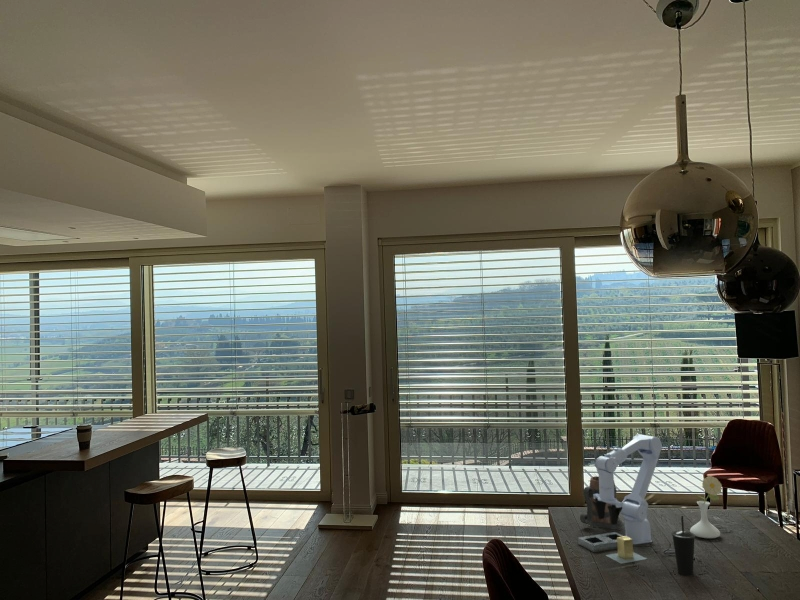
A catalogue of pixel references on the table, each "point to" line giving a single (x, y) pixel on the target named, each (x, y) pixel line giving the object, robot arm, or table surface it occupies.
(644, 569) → the table surface
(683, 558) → the drinking cup
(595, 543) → the grey socket tray
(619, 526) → the tankard
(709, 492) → the flower in vase
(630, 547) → the beige rectangular block
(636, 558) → the pale flat rectangular plate
